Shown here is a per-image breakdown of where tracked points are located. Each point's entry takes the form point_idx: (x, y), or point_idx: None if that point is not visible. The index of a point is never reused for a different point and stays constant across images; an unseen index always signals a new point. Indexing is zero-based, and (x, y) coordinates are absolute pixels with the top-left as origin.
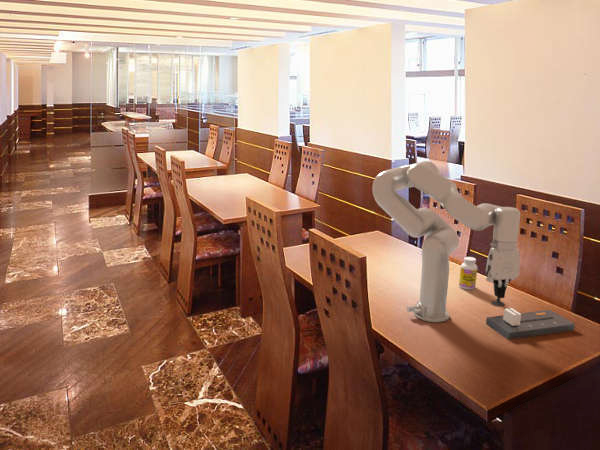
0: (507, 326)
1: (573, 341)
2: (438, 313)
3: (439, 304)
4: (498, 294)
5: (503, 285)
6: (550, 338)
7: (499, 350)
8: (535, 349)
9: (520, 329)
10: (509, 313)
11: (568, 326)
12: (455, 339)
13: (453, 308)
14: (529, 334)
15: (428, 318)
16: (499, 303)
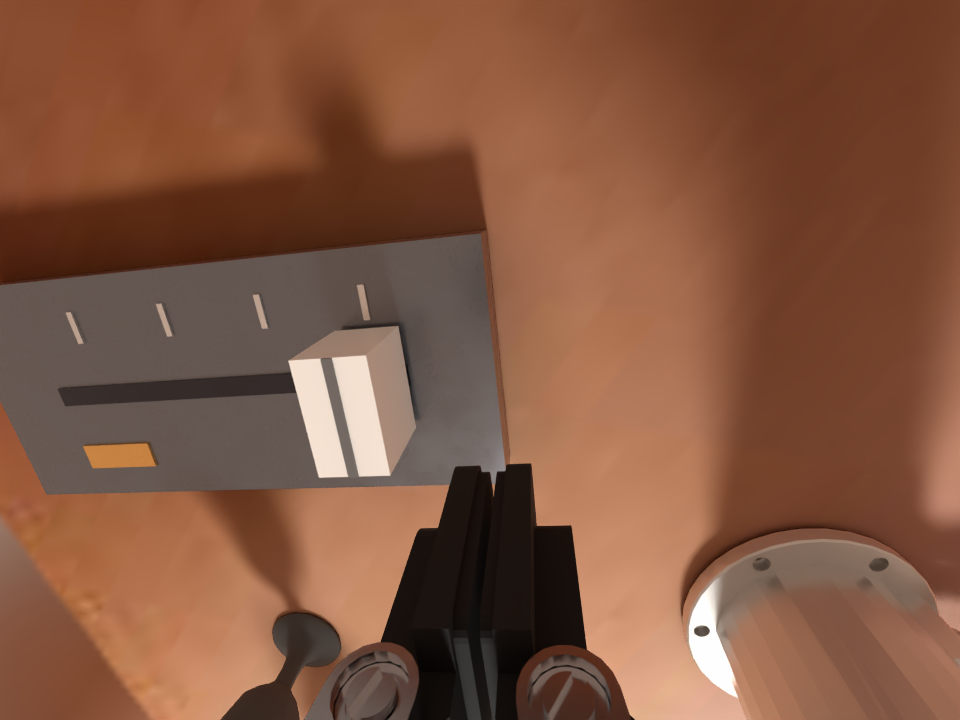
0: (434, 334)
1: (52, 137)
2: (845, 592)
3: (898, 662)
4: (549, 528)
5: (431, 695)
6: (187, 202)
7: (658, 68)
8: (366, 49)
9: (361, 272)
10: (381, 405)
11: (6, 283)
12: (885, 293)
13: (594, 651)
14: (310, 249)
15: (899, 572)
16: (302, 634)
